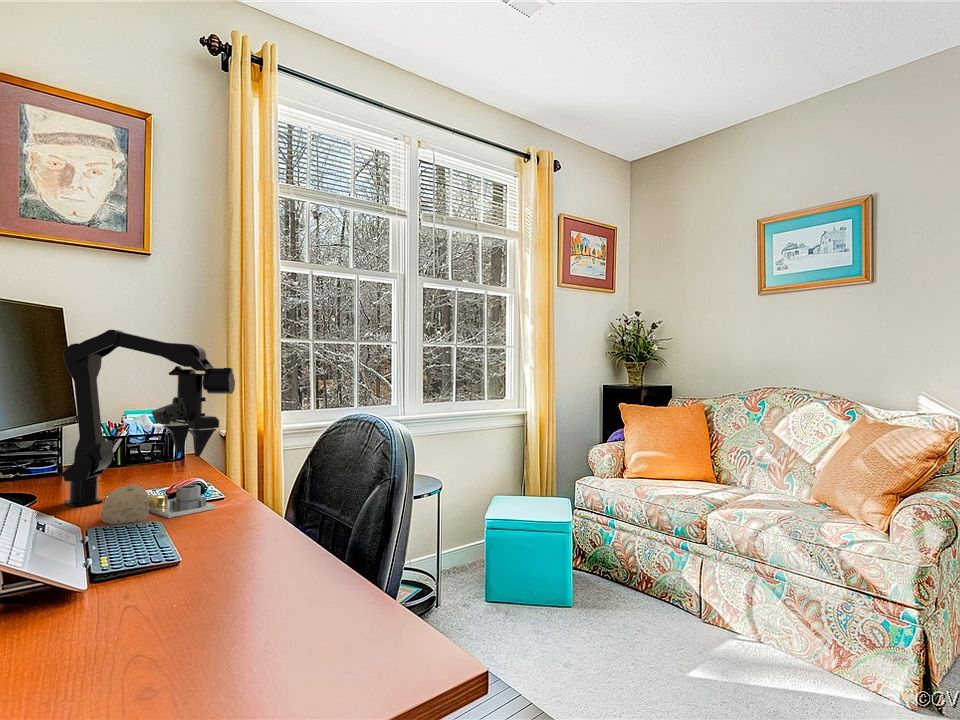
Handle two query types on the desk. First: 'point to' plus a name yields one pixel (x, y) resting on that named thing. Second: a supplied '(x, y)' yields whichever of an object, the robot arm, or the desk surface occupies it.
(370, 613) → the desk surface
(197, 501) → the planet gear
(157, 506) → the carrier plate
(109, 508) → the brown rounded stone
